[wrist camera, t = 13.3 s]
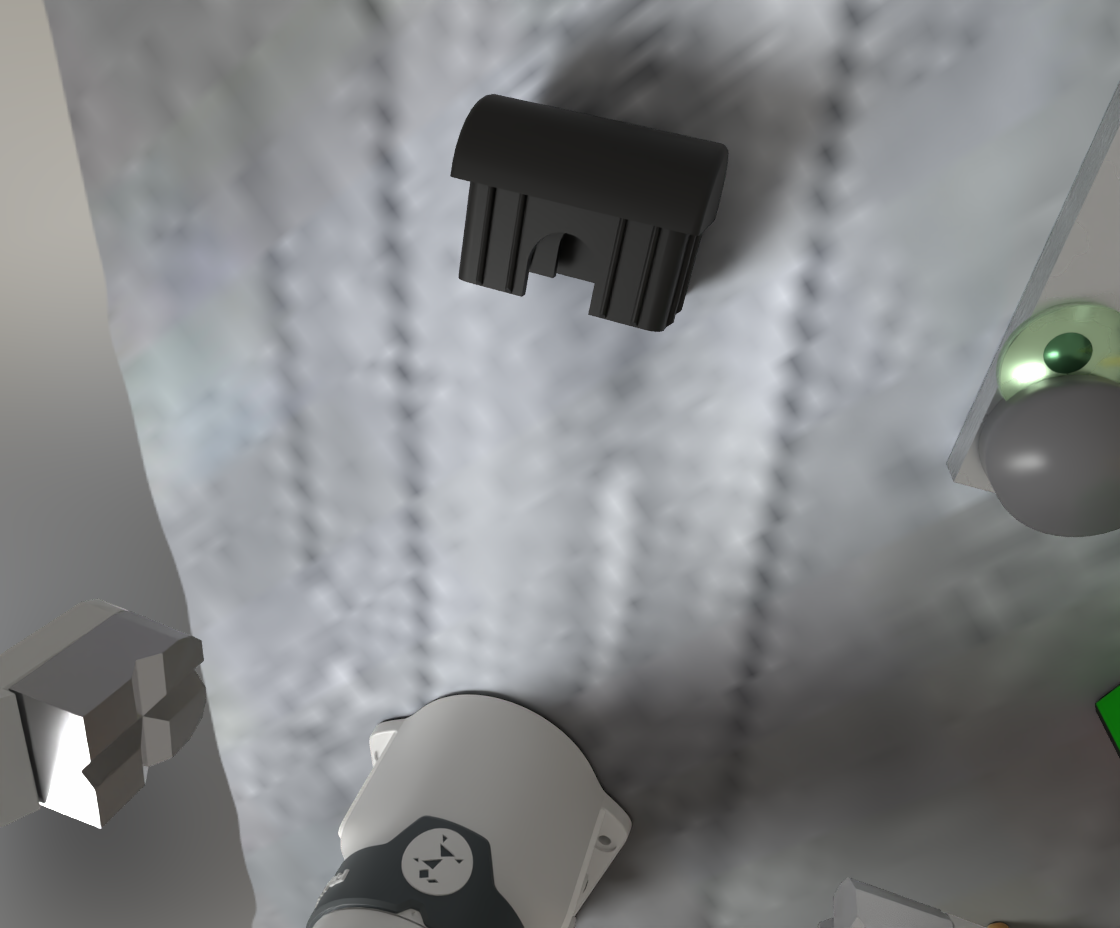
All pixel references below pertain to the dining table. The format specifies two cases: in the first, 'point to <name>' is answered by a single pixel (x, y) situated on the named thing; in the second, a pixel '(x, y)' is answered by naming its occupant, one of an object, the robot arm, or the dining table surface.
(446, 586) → the dining table surface
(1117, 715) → the puzzle cube
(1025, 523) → the knob
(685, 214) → the end cap
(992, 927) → the horse figurine
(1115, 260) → the leveling plate
